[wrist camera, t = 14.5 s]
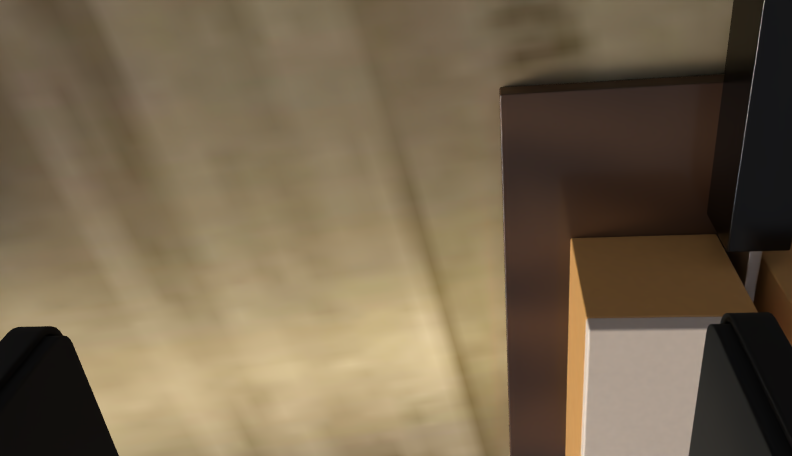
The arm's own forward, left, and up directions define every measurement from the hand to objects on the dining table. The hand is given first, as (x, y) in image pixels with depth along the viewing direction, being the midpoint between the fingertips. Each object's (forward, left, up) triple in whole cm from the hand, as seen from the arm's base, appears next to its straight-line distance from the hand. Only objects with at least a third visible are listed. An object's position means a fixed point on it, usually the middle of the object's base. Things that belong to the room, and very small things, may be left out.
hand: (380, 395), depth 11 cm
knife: (+11, +12, -21) cm, 27 cm away
